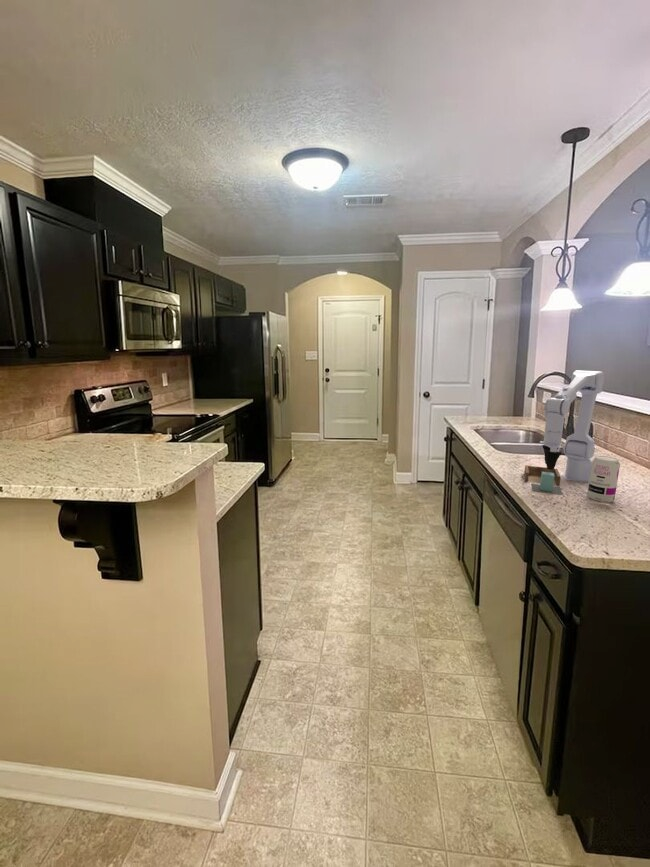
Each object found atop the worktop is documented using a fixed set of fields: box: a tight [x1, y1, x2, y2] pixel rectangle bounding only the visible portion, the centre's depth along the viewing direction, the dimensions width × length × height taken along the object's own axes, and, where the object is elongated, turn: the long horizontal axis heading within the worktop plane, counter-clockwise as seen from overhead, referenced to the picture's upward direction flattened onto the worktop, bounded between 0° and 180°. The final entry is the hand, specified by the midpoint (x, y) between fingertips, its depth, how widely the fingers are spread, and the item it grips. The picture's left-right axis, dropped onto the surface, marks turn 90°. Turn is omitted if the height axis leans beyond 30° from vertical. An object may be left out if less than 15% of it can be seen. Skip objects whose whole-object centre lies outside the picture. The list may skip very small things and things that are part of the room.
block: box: [539, 472, 555, 491], centre depth 161 cm, size 4×4×6 cm
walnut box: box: [524, 465, 561, 487], centre depth 173 cm, size 12×12×4 cm
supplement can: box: [587, 455, 621, 503], centre depth 151 cm, size 8×8×15 cm
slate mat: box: [531, 483, 564, 496], centre depth 161 cm, size 10×10×1 cm
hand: (549, 466), depth 160 cm, fingers open, 7 cm apart
